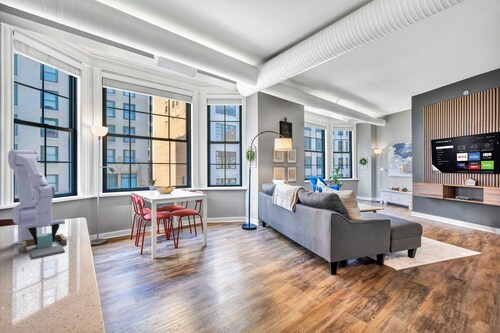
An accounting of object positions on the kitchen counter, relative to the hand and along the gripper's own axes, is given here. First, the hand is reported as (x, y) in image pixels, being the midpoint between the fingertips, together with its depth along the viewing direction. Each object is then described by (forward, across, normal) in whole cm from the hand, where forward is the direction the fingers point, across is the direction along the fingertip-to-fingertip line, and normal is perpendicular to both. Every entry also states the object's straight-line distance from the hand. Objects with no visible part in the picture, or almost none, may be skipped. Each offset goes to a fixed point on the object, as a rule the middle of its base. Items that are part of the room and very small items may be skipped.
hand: (44, 242), depth 108 cm
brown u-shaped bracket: (+1, 0, 0) cm, 1 cm away
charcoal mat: (+1, 0, -12) cm, 12 cm away
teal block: (+2, 0, 0) cm, 2 cm away
